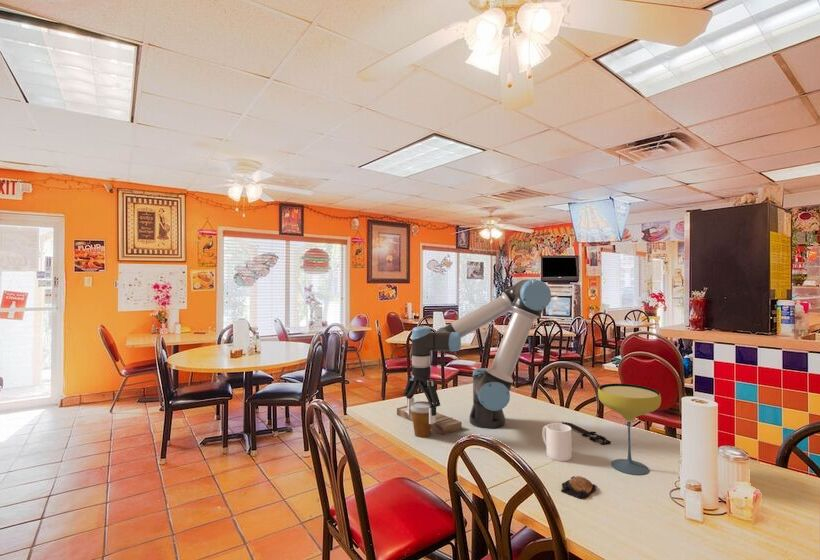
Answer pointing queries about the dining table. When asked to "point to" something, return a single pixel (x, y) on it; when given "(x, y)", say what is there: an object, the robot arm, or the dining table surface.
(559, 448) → the cup
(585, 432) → the knife
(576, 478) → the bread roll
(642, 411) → the cocktail glass
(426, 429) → the disposable coffee cup
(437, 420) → the walnut board
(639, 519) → the dining table surface
